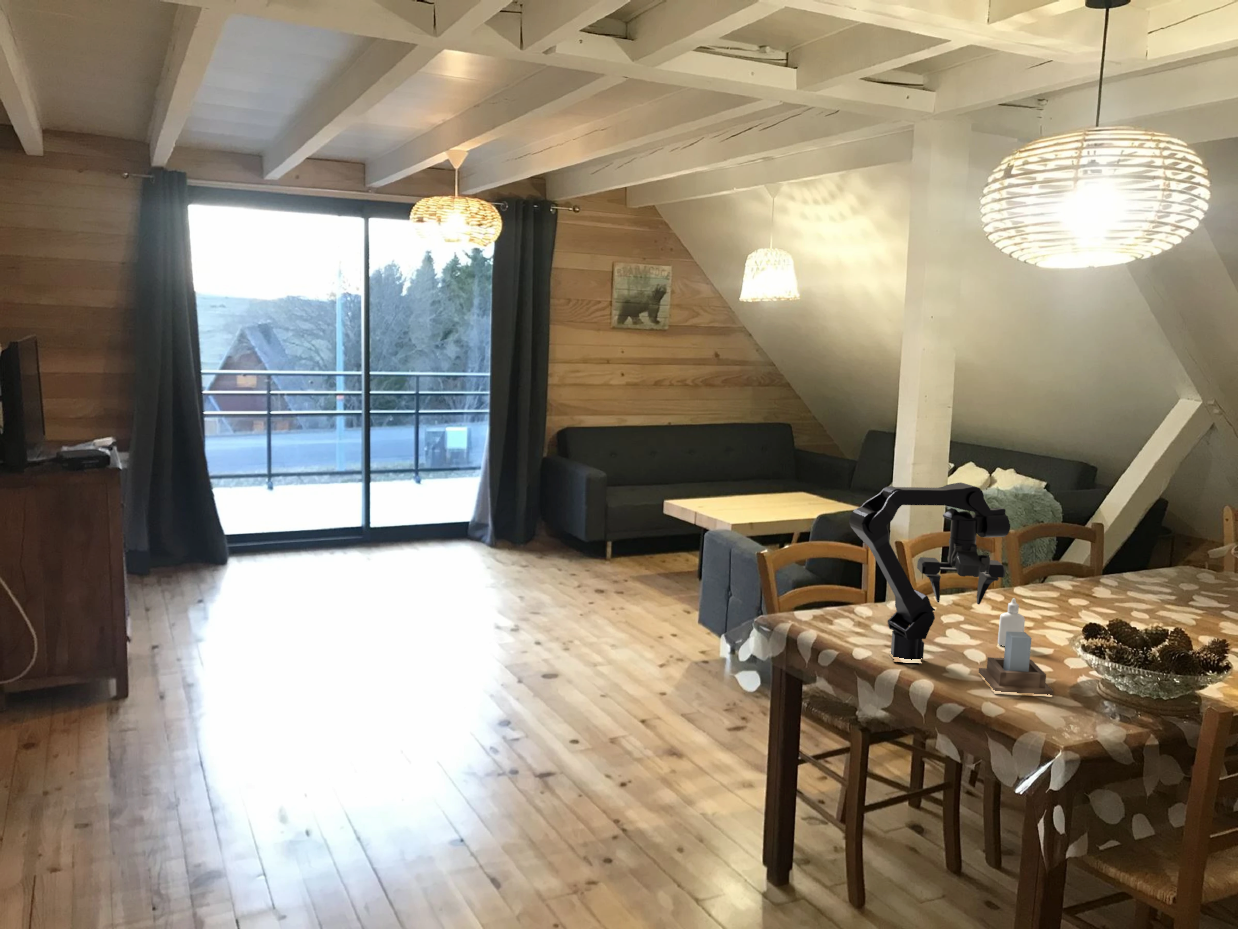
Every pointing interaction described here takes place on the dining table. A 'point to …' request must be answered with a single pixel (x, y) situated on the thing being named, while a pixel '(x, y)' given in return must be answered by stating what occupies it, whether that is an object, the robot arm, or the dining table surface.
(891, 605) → the dining table surface
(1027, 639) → the slate peg
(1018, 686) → the walnut holder
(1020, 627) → the eye dropper bottle
